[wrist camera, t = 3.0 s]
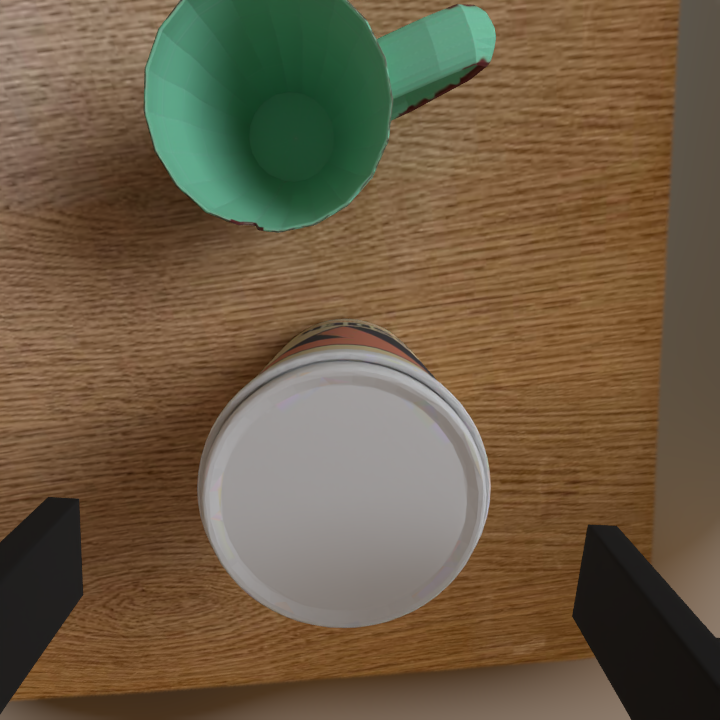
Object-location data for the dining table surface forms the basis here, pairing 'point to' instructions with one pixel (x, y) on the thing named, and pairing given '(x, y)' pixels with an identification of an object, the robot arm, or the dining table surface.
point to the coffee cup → (344, 480)
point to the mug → (293, 99)
